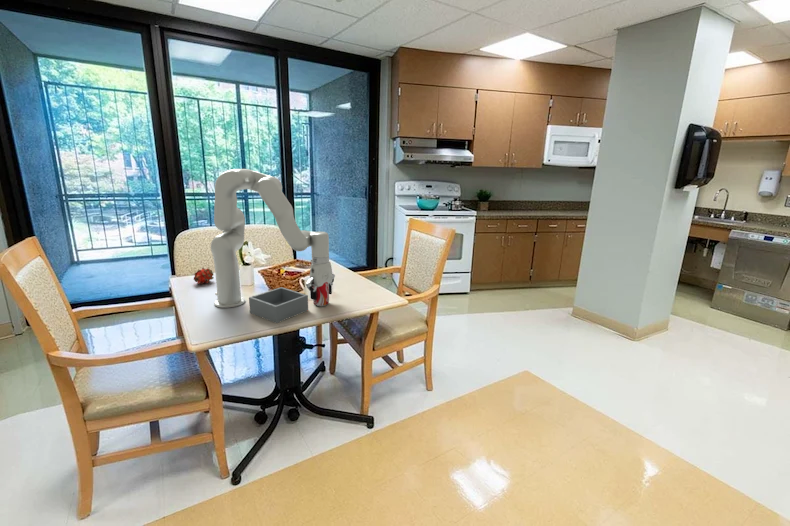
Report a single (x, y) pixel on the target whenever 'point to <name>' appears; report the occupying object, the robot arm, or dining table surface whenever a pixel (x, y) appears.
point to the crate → (278, 304)
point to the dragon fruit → (203, 276)
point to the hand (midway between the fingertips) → (321, 296)
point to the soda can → (322, 295)
